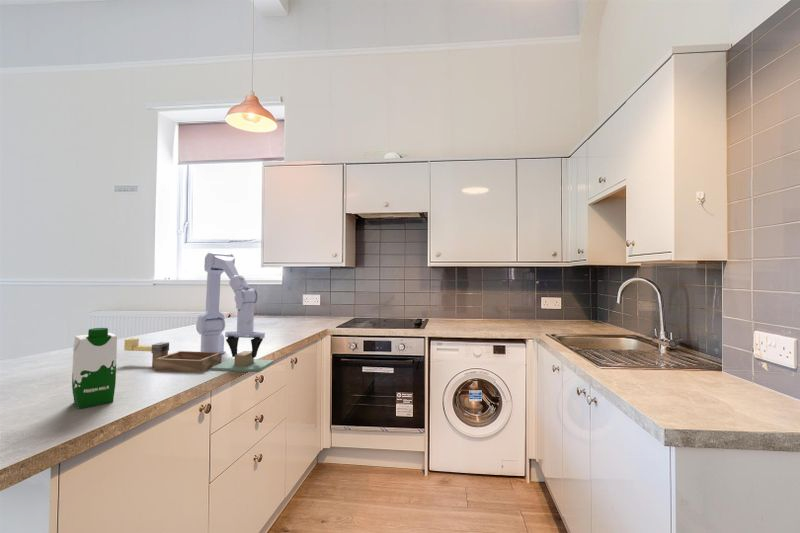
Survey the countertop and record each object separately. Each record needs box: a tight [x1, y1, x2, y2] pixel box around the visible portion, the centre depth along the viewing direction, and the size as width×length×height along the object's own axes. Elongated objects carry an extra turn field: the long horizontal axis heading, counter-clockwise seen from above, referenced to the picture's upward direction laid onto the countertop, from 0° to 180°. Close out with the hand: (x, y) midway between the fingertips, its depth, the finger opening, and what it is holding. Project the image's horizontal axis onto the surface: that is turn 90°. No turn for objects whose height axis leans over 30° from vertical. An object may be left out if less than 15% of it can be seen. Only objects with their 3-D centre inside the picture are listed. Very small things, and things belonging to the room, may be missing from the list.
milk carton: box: [71, 327, 118, 410], centre depth 97 cm, size 9×9×20 cm
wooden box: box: [151, 341, 222, 373], centre depth 133 cm, size 13×22×8 cm, turn 87°
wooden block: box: [123, 338, 163, 352], centre depth 134 cm, size 3×13×4 cm, turn 87°
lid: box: [210, 350, 275, 373], centre depth 135 cm, size 14×18×5 cm
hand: (244, 356), depth 135 cm, fingers open, 7 cm apart
